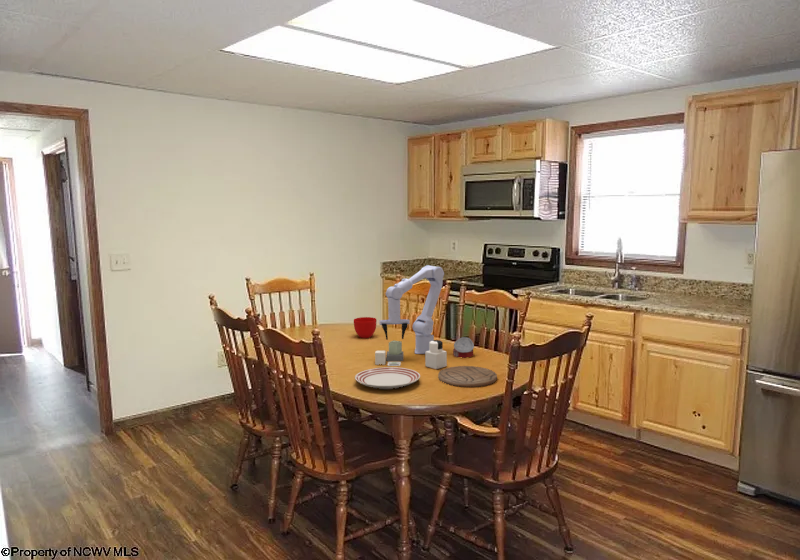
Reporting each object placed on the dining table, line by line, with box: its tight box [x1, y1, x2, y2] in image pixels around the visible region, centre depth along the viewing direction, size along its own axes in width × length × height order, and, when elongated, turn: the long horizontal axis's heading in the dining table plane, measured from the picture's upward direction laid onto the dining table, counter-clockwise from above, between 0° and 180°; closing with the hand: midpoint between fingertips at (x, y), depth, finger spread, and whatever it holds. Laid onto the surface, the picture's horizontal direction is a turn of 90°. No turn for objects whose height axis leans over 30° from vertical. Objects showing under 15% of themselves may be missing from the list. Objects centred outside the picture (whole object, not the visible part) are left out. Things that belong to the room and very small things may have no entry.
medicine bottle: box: [424, 339, 448, 370], centre depth 254 cm, size 7×7×12 cm
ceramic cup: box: [353, 316, 377, 339], centre depth 315 cm, size 13×17×10 cm
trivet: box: [437, 365, 498, 388], centre depth 237 cm, size 25×25×2 cm
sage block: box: [388, 339, 403, 355], centre depth 268 cm, size 5×5×6 cm
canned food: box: [452, 336, 475, 359], centre depth 273 cm, size 11×10×10 cm
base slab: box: [386, 350, 404, 362], centre depth 268 cm, size 8×8×3 cm
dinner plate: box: [354, 366, 421, 390], centre depth 232 cm, size 28×27×3 cm
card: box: [387, 361, 402, 367], centre depth 259 cm, size 6×6×1 cm
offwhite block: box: [374, 350, 387, 366], centre depth 260 cm, size 5×5×6 cm
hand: (394, 338), depth 269 cm, fingers open, 7 cm apart
